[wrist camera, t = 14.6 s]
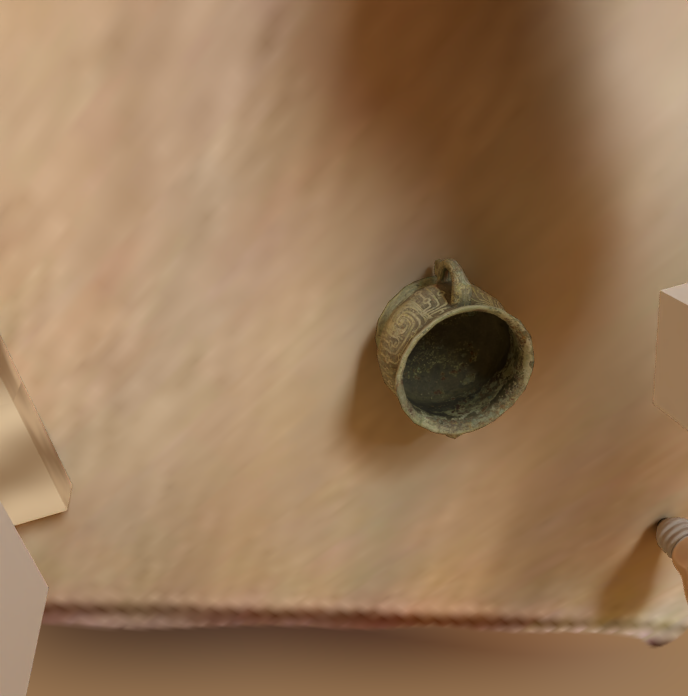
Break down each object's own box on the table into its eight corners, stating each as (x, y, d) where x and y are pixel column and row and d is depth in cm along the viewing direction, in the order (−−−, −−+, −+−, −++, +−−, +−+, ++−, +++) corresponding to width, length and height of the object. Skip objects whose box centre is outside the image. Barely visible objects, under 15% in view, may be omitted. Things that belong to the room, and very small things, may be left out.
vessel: (362, 251, 40) (394, 287, 34) (496, 234, 42) (546, 266, 36) (368, 416, 45) (396, 470, 40) (486, 396, 47) (529, 445, 42)
